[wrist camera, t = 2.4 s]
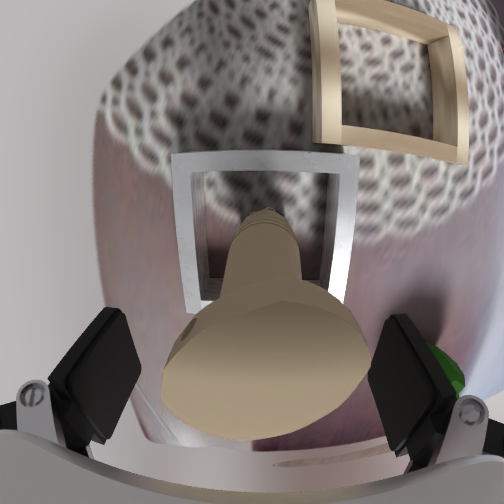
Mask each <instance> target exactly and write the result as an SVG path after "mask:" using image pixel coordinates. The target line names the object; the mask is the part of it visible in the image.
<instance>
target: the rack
mask: <svg viewBox="0 0 504 504" xmlns="http://www.w3.org/2000/svg"><path fill="white" fill-rule="evenodd" d="M308 10H309V23H310V39H311V61H312V101H313V134H312V143H323V144H336V145H347V146H356V147H365V148H373V149H380V150H387V151H394V152H400V153H406V154H412V155H418V156H423V157H428V158H433V159H437V160H442V161H447V162H452V163H456V164H460V165H465V166H468V151H469V106H468V90H467V79H466V71H465V63H464V57H463V51H462V45H461V40H460V35H459V31H458V28H456V27H454V26H452V25H450V24H447V23H445V22H443V21H441V20H438V19H436V18H434V17H431V16H429V15H426V14H424V13H421V12H419V11H416V10H413V9H411V8H408V7H405V6H402V5H399V4H395V3H392V2H389V1H385V0H310V4H309V7H308ZM337 23H343V24H349V25H355V26H360V27H365V28H369V29H374V30H378V31H382V32H386V33H389V34H393V35H397V36H400V37H403V38H407V39H410V40H413V41H416V42H419V43H422V44H424V45H427V46H428V53H429V61H430V70H431V82H432V98H433V140H429V139H424V138H420V137H415V136H410V135H405V134H400V133H395V132H389V131H383V130H376V129H370V128H363V127H355V126H346V125H342V101H341V68H340V51H339V37H338V26H337Z"/></svg>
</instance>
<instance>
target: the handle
mask: <svg viewBox="0 0 504 504" xmlns="http://www.w3.org/2000/svg"><path fill="white" fill-rule="evenodd" d="M370 367H371V355H370V351H369V347H368V344H367V342H366V339H365V337H364V334H363V332H362V330H361V328H360V326H359V324H358V322H357V321H356V319H355V317H354V316H353V314H352V313H351V311H350V310H349V309H348V308H347V307H346V306H345V305H344V304H343V303H342V302H341V301H340V300H339V299H338V298H337V297H335V296H334V295H333V294H331V293H330V292H328V291H327V290H325V289H324V288H322V287H319V286H317V285H315V284H313V283H311V282H309V281H304V280H302V275H301V264H300V253H299V248H298V244H297V240H296V237H295V234H294V232H293V230H292V228H291V226H290V225H289V223H288V222H287V220H286V218H285V217H284V216H281V215H280V214H278V213H277V212H276V211H275V210H274V208H273V207H269V206H267V207H266V208H265V209H263V210H260V211H251V212H250V213H248V214H247V216H246V217H245V219H244V221H243V222H242V224H241V225H240V226H239V228H238V230H237V232H236V234H235V236H234V238H233V241H232V243H231V246H230V249H229V253H228V258H227V263H226V268H225V274H224V279H223V284H222V289H221V294H220V298H219V299H217V300H215V301H213V302H212V303H210V304H208V305H207V306H205V307H204V308H203V309H202V310H200V311H199V312H198V313H197V314H196V315H195V316H194V317H193V319H192V320H191V321H190V323H189V324H188V325H187V327H186V328H185V329H184V330H183V332H182V333H181V334H180V336H179V337H178V339H177V340H176V342H175V343H174V345H173V348H172V350H171V352H170V355H169V357H168V360H167V363H166V365H165V368H164V372H163V375H162V383H161V403H162V404H163V405H164V407H165V408H166V409H167V410H168V411H169V412H170V413H171V414H172V415H173V416H175V417H176V418H178V419H179V420H181V421H182V422H183V423H185V424H187V425H189V426H191V427H193V428H195V429H197V430H199V431H201V432H204V433H206V434H209V435H212V436H216V437H219V438H223V439H228V440H235V441H250V440H257V439H264V438H269V437H275V436H280V435H283V434H287V433H291V432H293V431H296V430H298V429H301V428H303V427H305V426H307V425H309V424H311V423H312V422H314V421H316V420H318V419H320V418H322V417H323V416H325V415H327V414H329V413H330V412H331V411H333V410H334V409H336V408H337V407H339V406H340V405H341V404H342V403H343V402H344V401H345V400H346V399H347V398H348V397H349V396H350V394H351V393H352V392H353V391H354V389H355V388H356V387H357V385H358V384H359V383H360V381H361V380H362V379H363V377H364V376H365V374H366V373H367V372H368V370H369V369H370Z"/></svg>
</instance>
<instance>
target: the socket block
mask: <svg viewBox="0 0 504 504" xmlns="http://www.w3.org/2000/svg"><path fill="white" fill-rule="evenodd" d="M359 160H360V156H357V155H351V154H345V153H334V152H321V151H303V150H270V149H242V150H209V151H191V152H182V153H175V154H171V166H172V183H173V198H174V211H175V222H176V232H177V242H178V251H179V260H180V268H181V276H182V283H183V290H184V297H185V304H186V310H187V313H194V314H197V313H198V312H199V311H200V310H202V309H203V308H204V307H205V306H207V305H208V304H210V303H212V302H213V301H215V300H217V299H219V298H220V294H221V289H222V284H223V279H224V278H210V272H209V259H208V245H207V230H206V213H205V193H204V172H205V171H297V172H319V173H328V181H327V199H326V214H325V227H324V239H323V249H322V259H321V269H320V278H319V280H304V281H309V282H311V283H313V284H315V285H317V286H319V287H322V288H324V289H325V290H327V291H328V292H330V293H331V294H333V295H334V296H335V297H337V298H338V299H339V300H340V301H341V302H342V303H343V298H344V293H345V287H346V281H347V275H348V269H349V262H350V255H351V248H352V240H353V232H354V223H355V214H356V203H357V192H358V178H359Z"/></svg>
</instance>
